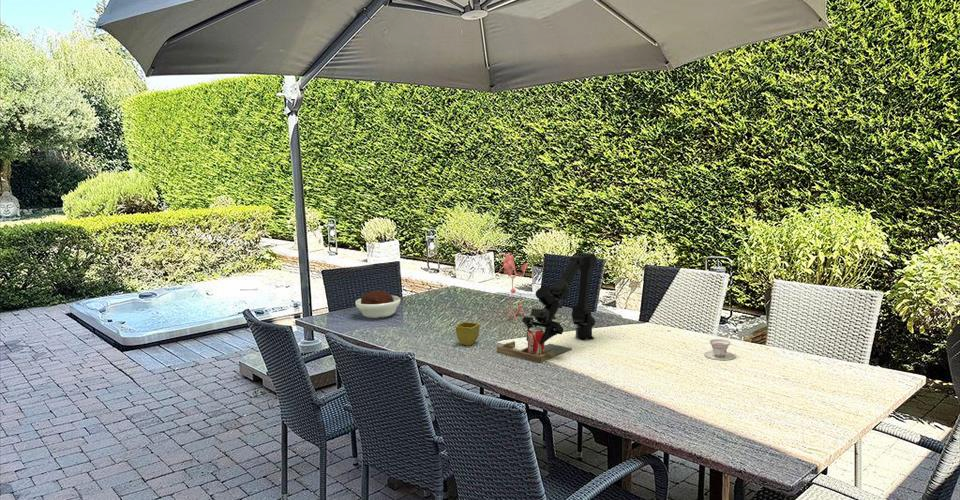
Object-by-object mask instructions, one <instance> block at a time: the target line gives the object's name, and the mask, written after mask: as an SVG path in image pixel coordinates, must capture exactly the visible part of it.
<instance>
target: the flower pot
mask: <svg viewBox="0 0 960 500" xmlns="http://www.w3.org/2000/svg"><path fill="white" fill-rule="evenodd" d="M480 326H481V323H479V322H468V321H463V322H460V323H459V324H457V325H455V326H454V327H455V334H456V337H457V340H458V342H459V343H460V345H462V344H463V346H464V345H465V346H472V345H474V344H475V343H476V341H478V338H479V335H480V328H481V327H480Z"/></svg>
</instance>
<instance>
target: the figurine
mask: <svg viewBox="0 0 960 500" xmlns="http://www.w3.org/2000/svg"><path fill="white" fill-rule="evenodd" d="M502 264H503V266H502V267H501V268H500V270H499V271H498V272H497V273H496V274H495V275H496V276H498V275H499V273H500V272H501V271H502V269H504V271H503V274H504V275H507V277H510V279H511V289H510V292H511V296H513V294H516V293H517V294H519V306H518V307H517V309H516V312H515V313H516V314H517V315H519V314H520V312H522V315H523V317H525V316H526V313H524V310H523V305H522V303H521V301H522V299H521V298H522V294H521V292H518V291H517V290H516V288H514V279H515V278H516V277H517V276H519V277H524V275H525V272H526V270H527V269H528V267H529V263H528V262H526V263H525V262H524V264H523V265H521V267H520V268H521V271H522V272H523V274H518V273H517V271H516V265H515V260H514V254H510V252H508V253H505V257H504V258H503V259H502ZM513 272H514V275H513ZM512 275H513V276H512ZM510 305H511V307H510V312H509V314H508V315H507V316H506V317H507V318H506V320H508V319H509V318H510V316H511V313H512V315H513V317H514V319H515V321H517V320H518V319H517V316H516V315H515V313H514V311H513V310H514V308H513V299H511V304H510ZM501 315H504V313H503V314H500V315H498V317H499V316H501ZM494 319H495V320H496V321H497V319H496V318H494Z"/></svg>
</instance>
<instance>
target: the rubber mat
mask: <svg viewBox="0 0 960 500" xmlns="http://www.w3.org/2000/svg"><path fill="white" fill-rule="evenodd" d="M552 350H554V351H555V357H557V356H560V355H562V354H564V353H567V352H569V351H573V348H572V347H567V346H562V345H559V344H554V343H548V344H545V353H547V352H550V351H552ZM545 353H544V354H545Z"/></svg>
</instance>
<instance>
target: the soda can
mask: <svg viewBox="0 0 960 500" xmlns="http://www.w3.org/2000/svg"><path fill="white" fill-rule="evenodd" d="M544 332H545V331H544V330H543V327H539V326H536V327H532V328H529V331H528V341H527V347H528V353H529V354H533V355H538V356H539V355H542V354H544V353H545V345H546V344H545V342H546V341H545V342H544V343H543V344H540V341H541V339H542V336H543V334H544Z"/></svg>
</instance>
